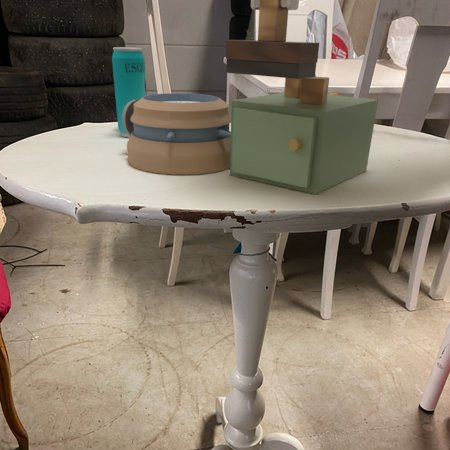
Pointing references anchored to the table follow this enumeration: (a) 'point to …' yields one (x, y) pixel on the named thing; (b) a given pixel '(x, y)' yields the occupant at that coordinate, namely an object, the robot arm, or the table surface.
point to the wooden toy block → (292, 88)
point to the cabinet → (301, 140)
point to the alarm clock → (178, 133)
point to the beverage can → (128, 79)
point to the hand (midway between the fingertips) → (273, 9)
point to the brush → (272, 49)
